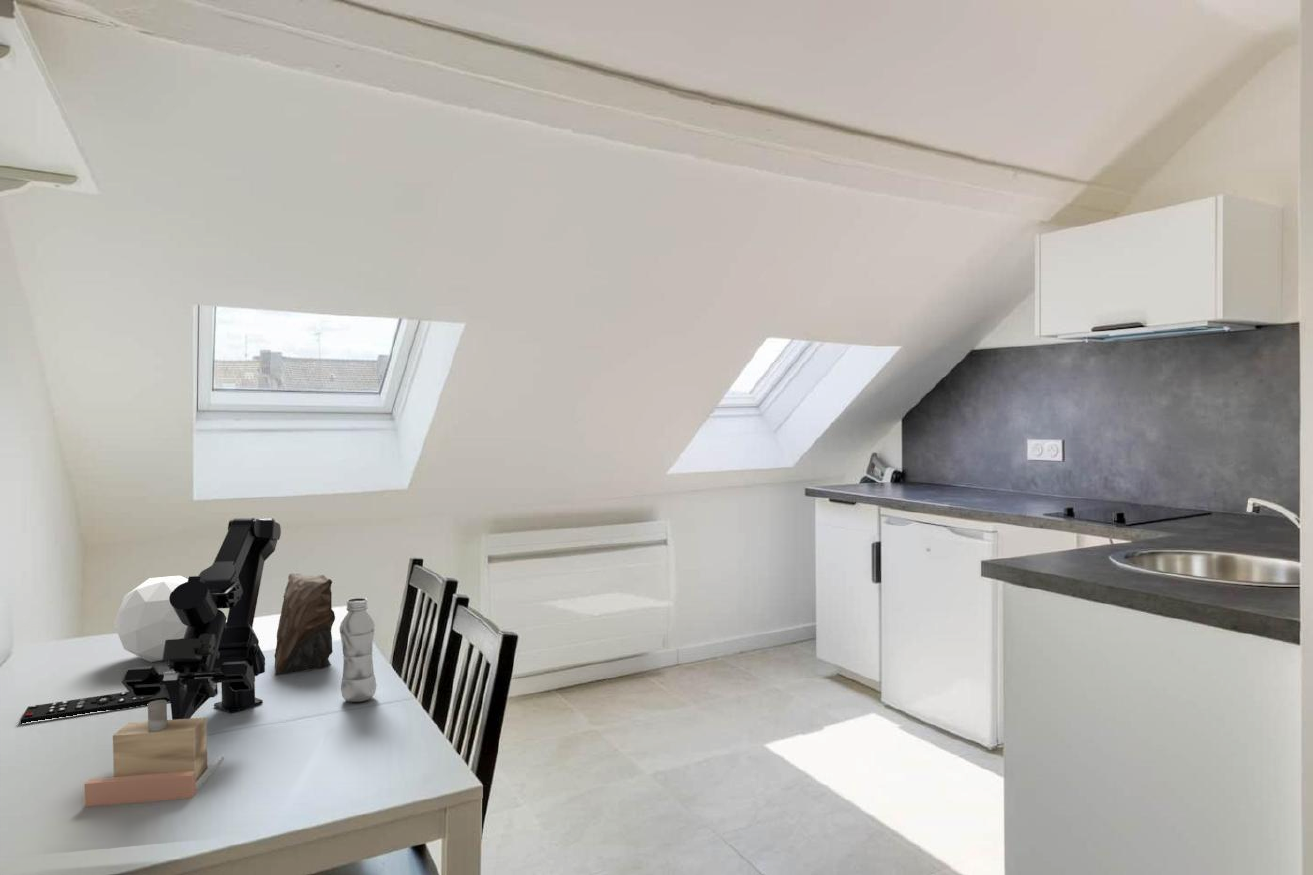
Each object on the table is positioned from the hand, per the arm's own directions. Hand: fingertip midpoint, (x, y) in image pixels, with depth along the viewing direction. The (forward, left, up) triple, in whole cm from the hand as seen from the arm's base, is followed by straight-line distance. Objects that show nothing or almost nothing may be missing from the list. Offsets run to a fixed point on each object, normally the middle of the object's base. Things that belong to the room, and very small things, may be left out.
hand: (176, 728), depth 127 cm
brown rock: (-33, +40, -7) cm, 52 cm away
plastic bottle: (-3, +35, -7) cm, 36 cm away
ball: (-64, +26, -7) cm, 70 cm away
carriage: (+4, -4, -5) cm, 8 cm away
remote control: (-40, +8, -7) cm, 42 cm away
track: (+5, -5, -7) cm, 9 cm away
